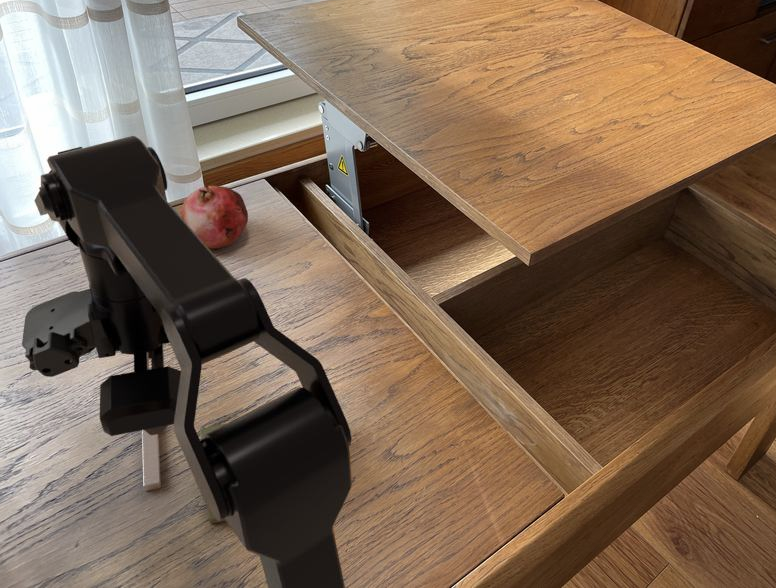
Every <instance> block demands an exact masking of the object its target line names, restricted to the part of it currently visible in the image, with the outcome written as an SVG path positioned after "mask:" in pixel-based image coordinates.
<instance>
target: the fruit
mask: <svg viewBox="0 0 776 588" xmlns="http://www.w3.org/2000/svg"><path fill="white" fill-rule="evenodd" d="M180 217H181V218H182V219H183V220H184V221H185V222H186V223H187V225H188V226H189V227H190V228H191V229H192V230H193V231H194V232H195V234H196V235H197V236H198V237H199V238H200V239H201V240H202V242H203V243H204V244H205V245H206V246H207V247H208V248H209V249H220V248H225V247H228V246H230V245H232V244H234V243H235V242H236V241H238V239H239V238H240V237H241V235H242V233H243V232H244V230H245V228H246V227H247V224H248V221H249V211H248V210H247V206H246V204H245V201H244V198H243V197H242V194H240V193H239V192H238V191H236V190H233V189H232V188H230V187H228V186H221V185H207V184H205V183H204V185H203V186H201V187H200V188H197V189H195V190H194V191H193V192H191V193H190V194H189V195H188V196H187V197H186V198H185V200H184V202H183V203H182V206H181V209H180Z"/></svg>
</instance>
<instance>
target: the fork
mask: <svg viewBox="0 0 776 588" xmlns="http://www.w3.org/2000/svg"><path fill="white" fill-rule="evenodd" d="M159 435H160V434H156V435H149V434H148V433H147V432H146V431H145V430H141V449H142V450H141V451H142V452H141V453H142V454H141V455H142V486H143V490H144V492H147V491H152V490H156V489H160V488H162V479H161V459H160V458H161V456H160V437H159Z"/></svg>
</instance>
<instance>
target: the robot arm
mask: <svg viewBox="0 0 776 588" xmlns="http://www.w3.org/2000/svg"><path fill="white" fill-rule="evenodd" d="M46 161H47V164H48V167H49V169H50V171H49V172H48V173H44V174H41V175H40V187H38V189H39V191H38V193H37V195H36V197H35V198H34V203H35V206H36V208H37V211H38V213H39V215H40V217H41V216H46V215H48V216H49V218H50V220H51V221H53V222H57V223H58V224H59V226H60V227H61V229H62V231H63V232H64V234H65V236H66V237H67V239H68V241H69V242H70V243H71V244H73V246H75V247H77V248H78V249H79V253H80V256H81V260H82V263H83V267H84V271H85V274H86V277H87V281H88V286H89V288H87V289H83V290H80V291H70V292H68V293H65V294H63V295H60V296H58V297H57V296H56V297H55V298H52V299H49V300H46V301H44V302H41V303H40V304H37V305H34V306H33V307H32V308H30V309H29V310H28V311H27V313H26V315H25V318H24V325H23V326H24V327H23V332H22V341H21V345H22V346H21V347H22V348H24V350H25V355H24V357H25V358H26V359H27V360H28V362H29V369H30V370H32V371H38V372H39V373H40V374H41V375H42V376H43V377H47V378H53V377H56V376H59V375H61V374H64V373H66V372H69V371H71V370H73V369H76V368H79V367H78V366H79V364H80V357H83V356H84V355H87V354H89V353H91V352H93V351H94V350H95V349H96V352H97V356H98V358H99V359H103V358H110V357H115V356H116V354H117V352H120V354H123V355H130V356H131V355H133V371H132V372H126V373H120V374H113V375H110V376H108V378H107V379H105V380H104V381H103V382H102V383H101V384H100V385H99V421H100V424H101V427H102V430H103V433H105V434H107V435H109V436H110V437H114V436H120V435H125V434H130V433H135V432H142V430H145V431H146V432H147V433H148V434H149V435H156V434H159V435H160V434H163V433H164V432H165V430H166V429H167V427H168V426H171V425H173V434H174V436H175V438H176V440H177V442H178V444H179V446H180V449H181V451H182V454H183V456H184V458H185V460H186V462H187V464H188V467H189V469H190V471H191V474H192V476H193V478H194V481H195V483H196V485H197V487H198V489H199V492H200V494H201V496H202V498H203V500H204V502H205V504H206V507H207V506H208V507H209V509H210V511H211V513H212V514H213V515H214V517H215V518H216V519H217V520H218V521H221V520H223V519H224V518H225V519H226V520H225V521H226V522H227V524H228V525H229V527H230V528H231V530H232V532H234V534H235V535H236V537H237V538H238V539H239V541H240V543H242V546H243V547H244V548H245V549H246V551H247V552H249V553H252V554H254V555H257V556H259V560H260V562H261V566H262V570H263V573H264V577H265V580H266V584H267V587H268V588H346V586H345V581H344V576H343V571H342V565H341V562H340V561H341V560H340V556H339V552H338V551H339V550H338V546H337V541H336V537H335V532H334V525H335V523H336V521H337V519H338V517H339V515H340V512H341V511H342V509H343V506H344V503H345V502H346V499H347V498H348V495H349V494H350V491H351V489H352V486H353V485H352V483H353V482H352V481H353V480H352V467H351V465H352V464H351V452H350V446H351V445H352V432H351V428H350V426H349V423H348V420H347V418H346V416H345V414H344V411H343V409H342V407H341V405H340V402H339V400H338V398H337V395H336V394H335V392H334V389H333V387H332V384H331V383H330V382H331V381H330V380H329V377H328V375H327V373H326V370H325V369H324V366H323V364H322V362H320V360H319V359H318V358H317V357H315V356H314V355H313V354H312V353H310V352H309V351H307V350H306V349H305V348H303V347H301V346H300V345H298V344H297V343H296V342H295V341H294V340H292V339H290V337H288V336H287V335H285V334H284V333H282V332H281V331H280V330H278V329H277V328H276V327H275V325H274V324H273V322H272V320H271V317H270V315H269V313H268V310H267V308H266V306H265V304H264V302H263V299H262V297H261V296H260V294H259V292H258V290H257V288H256V287H255V286H254V284H253V282H251V281H250V280H249V279H247V278H246V277H242V278H239V279H236V277H235V276H233V274H232V273H231V272H230V271H229V270H228V268H226V266H225V265H224V264H223V263H222V262H221V260H220V259H219V258H218V257H217V256H216V255H215V254H214V253H213V252H212V250H211V249H210V248H208V247H207V246H206V245H205V244H204V243H203V242H202V240H201V239H200V238H199V237H198V236H197V235H196V234H195V232H194V231H193V230H192V229H191V228H190V227H189V226H188V225H187V223H186V222H185V221H184V220H183V219H182V218H181V214H179V213H178V212H177V211H176V209H174V207H173V206H172V205H171V204H170V203H169V202H168V198H167V194H166V191H167V190H168V180H167V175H166V172H165V168H164V166H163V164H162V161H161V159H160V157H159V155H158V153H157V152H156V150H155V149H154V147H152V146H148V147H147V146H146V145H145V143H144V142H143V140H141V139H140V138H139V137H137V136H135V135H130V136H126V137H123V138H117V139H113V140H109V141H105V142H101V143H98V144H93V145H89V146H86V147H83V146H78V147H74V148H70V149H66V150H61V151H58V152H57V154H54V155H50V156H48V157H47V159H46ZM251 343H254V344H256V345H258V346H259V347H261V348H262V349H263V350H265V351H266V352H268V353H269V354H271V355H272V356H273V357H274V358H276V359H277V360H279V361H280V362H281V363H283V364H284V365H285V366H287V367H288V368H289V369H291V370H293V371H294V372H295V373H296V376H297V378H298V380H299V382H300V384H301V386H298V387H296V388H294V389H292V390H290V391H289V392H286V393H285V394H283V395H281V396H278V397H277V398H274V399H273V400H271V401H269V402H267V403H265V404H263V405H260V406H258V407H257V408H254V409H252V410H251V411H249V412H247V413H245V414H243V415H241V416H239V417H237V418H235V419H233V420H231V421H229V422H227V424H226V423H224V424H225V425H223V426H221V427H219V428H217V429H215V430H213V431H211V432H209V433H207V434H206V435H205V436H204V439H202V440H201V438H200V436H199V435H198V433H197V430H196V428H195V420H196V413H197V405H198V398H199V397H198V396H199V391H200V383H201V382H200V381H201V374H202V368H203V365H204V364H207V363H209V362H211V361H214V360H215V359H218V358H220V357H223V356H224V355H227V354H229V353H231V352H234V351H235V350H238V349H241V348H243V347H246V346H247V345H249V344H251ZM165 344H169V345H170V347H171V349H172V351H173V353H174V355H175V358H176V360H177V362H178V364H179V367H180V370H179V369H176V368H175V367H172V366H168V365H167V366H165V352H164V345H165ZM150 359H151V360H150ZM150 363H151V364H150ZM150 366H151V368H150ZM221 522H222V521H221Z"/></svg>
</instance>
